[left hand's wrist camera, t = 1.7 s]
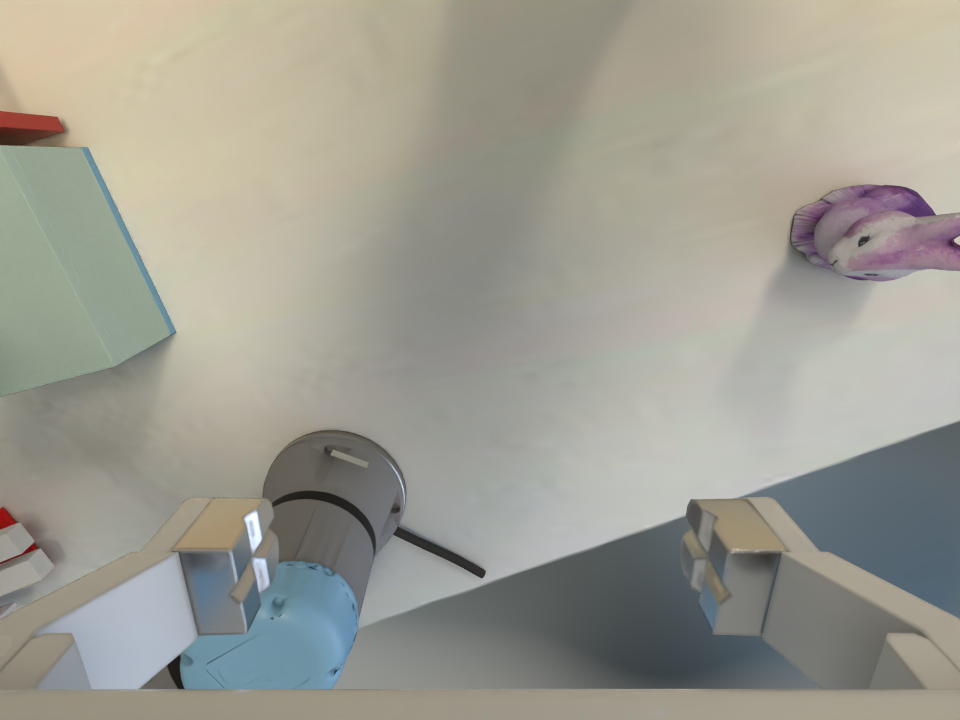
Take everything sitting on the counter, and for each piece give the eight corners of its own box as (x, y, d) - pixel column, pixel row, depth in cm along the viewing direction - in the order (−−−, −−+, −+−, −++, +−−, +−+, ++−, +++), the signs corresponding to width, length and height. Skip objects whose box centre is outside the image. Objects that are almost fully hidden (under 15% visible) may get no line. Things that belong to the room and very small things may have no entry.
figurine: (762, 237, 51) (869, 267, 37) (856, 153, 48) (1010, 150, 34) (820, 304, 53) (942, 357, 39) (912, 227, 51) (1079, 253, 37)
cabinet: (-24, 181, 49) (-137, 186, 40) (87, 147, 48) (-3, 144, 39) (75, 359, 55) (-5, 398, 46) (176, 332, 54) (115, 366, 45)
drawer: (-85, 77, 46) (-190, 62, 38) (21, 43, 45) (-66, 20, 38) (52, 323, 53) (-15, 349, 46) (146, 297, 52) (92, 319, 45)
